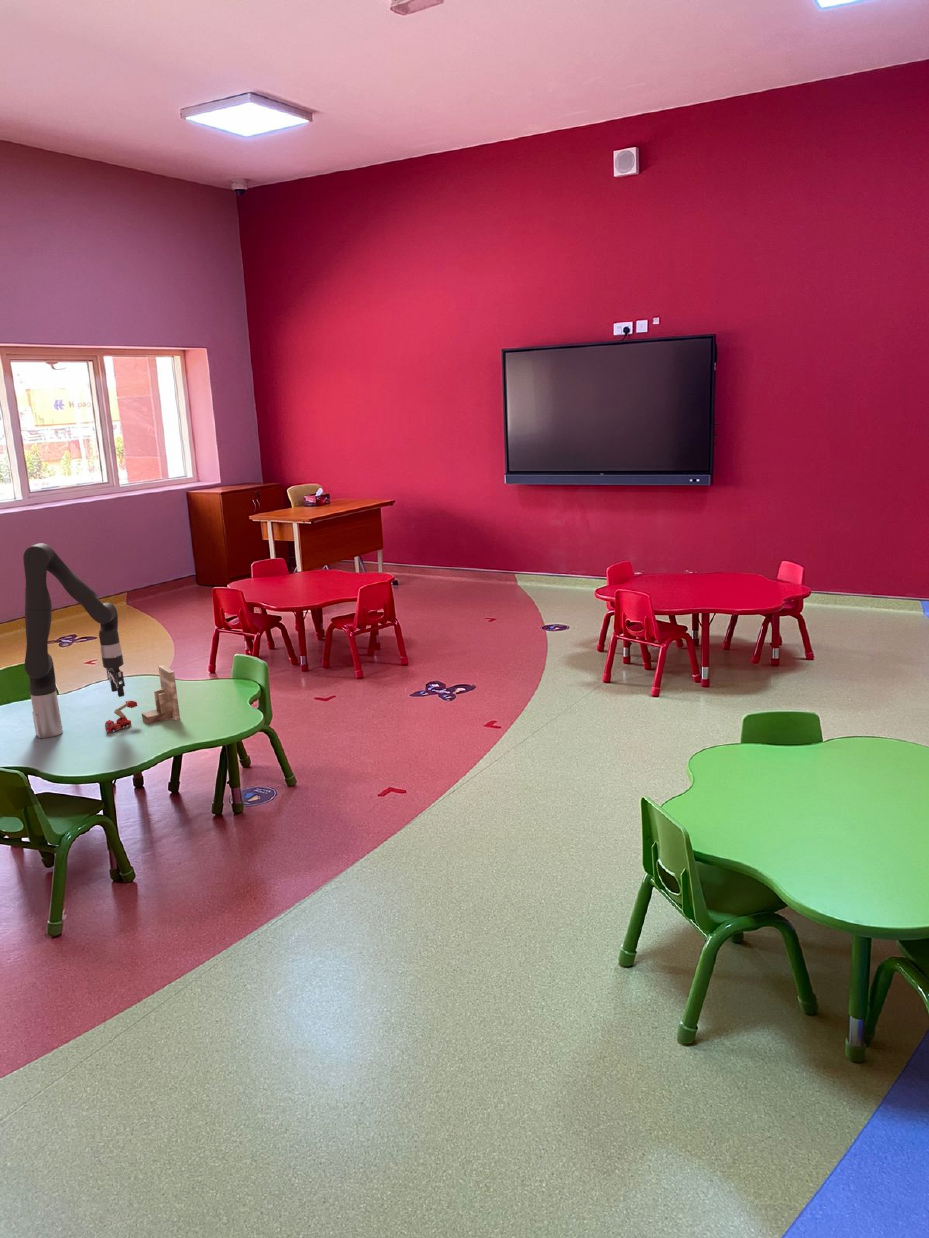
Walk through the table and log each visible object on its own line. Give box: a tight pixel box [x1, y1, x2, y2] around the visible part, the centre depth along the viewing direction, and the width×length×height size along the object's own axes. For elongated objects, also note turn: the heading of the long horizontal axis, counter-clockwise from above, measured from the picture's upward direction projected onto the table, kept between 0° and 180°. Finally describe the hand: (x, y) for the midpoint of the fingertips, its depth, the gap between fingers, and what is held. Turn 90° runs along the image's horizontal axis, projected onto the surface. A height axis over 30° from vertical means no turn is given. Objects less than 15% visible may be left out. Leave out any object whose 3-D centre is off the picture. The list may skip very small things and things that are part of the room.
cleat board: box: [141, 664, 181, 725], centre depth 370 cm, size 12×13×20 cm
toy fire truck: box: [104, 700, 138, 734], centre depth 362 cm, size 3×14×10 cm, turn 143°
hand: (118, 693), depth 360 cm, fingers open, 8 cm apart
